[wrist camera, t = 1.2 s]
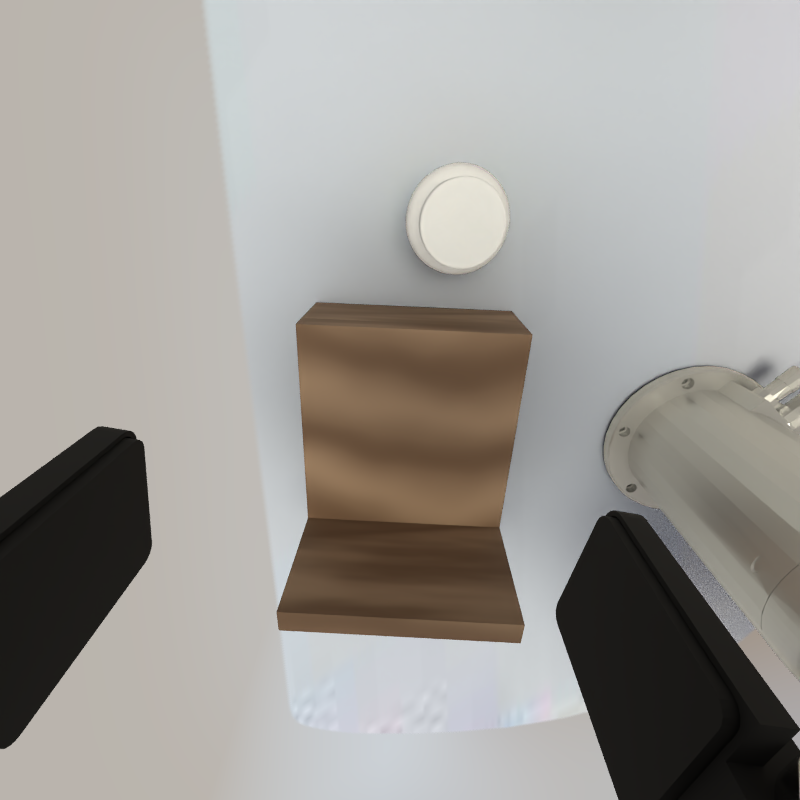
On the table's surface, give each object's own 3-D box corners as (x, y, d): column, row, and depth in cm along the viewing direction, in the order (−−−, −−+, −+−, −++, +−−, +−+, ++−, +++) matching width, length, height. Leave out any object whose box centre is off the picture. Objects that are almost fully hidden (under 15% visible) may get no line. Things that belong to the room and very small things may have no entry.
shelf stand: (316, 302, 31) (248, 372, 18) (511, 311, 31) (579, 388, 18) (324, 485, 38) (278, 630, 25) (484, 493, 38) (520, 643, 25)
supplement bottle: (507, 210, 28) (549, 214, 19) (452, 276, 30) (467, 307, 21) (444, 150, 27) (459, 126, 18) (390, 223, 29) (380, 234, 20)
